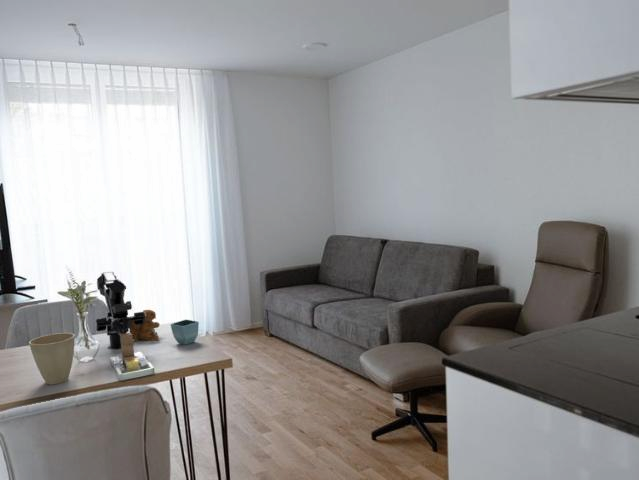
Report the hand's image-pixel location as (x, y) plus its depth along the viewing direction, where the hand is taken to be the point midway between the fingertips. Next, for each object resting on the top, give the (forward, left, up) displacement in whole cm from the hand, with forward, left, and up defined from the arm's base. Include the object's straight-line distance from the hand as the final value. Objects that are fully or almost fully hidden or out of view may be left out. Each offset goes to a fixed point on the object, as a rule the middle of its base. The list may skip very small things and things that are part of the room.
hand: (124, 338), depth 222 cm
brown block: (+7, -5, -8) cm, 11 cm away
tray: (+18, -12, -9) cm, 23 cm away
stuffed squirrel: (-16, +26, -9) cm, 32 cm away
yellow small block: (+12, -9, -8) cm, 17 cm away
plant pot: (-7, -26, -9) cm, 29 cm away
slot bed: (+7, -5, -9) cm, 12 cm away
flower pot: (+8, +27, -9) cm, 29 cm away
